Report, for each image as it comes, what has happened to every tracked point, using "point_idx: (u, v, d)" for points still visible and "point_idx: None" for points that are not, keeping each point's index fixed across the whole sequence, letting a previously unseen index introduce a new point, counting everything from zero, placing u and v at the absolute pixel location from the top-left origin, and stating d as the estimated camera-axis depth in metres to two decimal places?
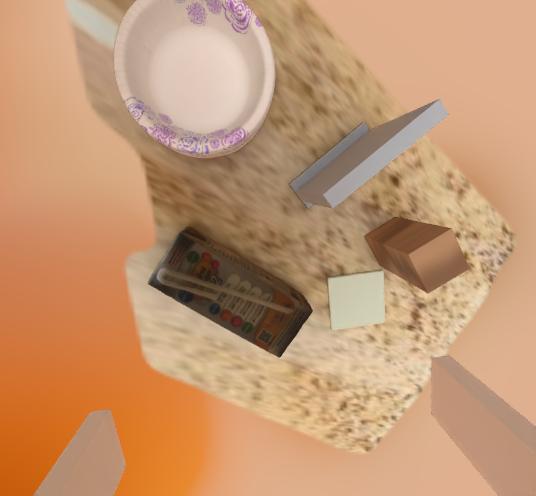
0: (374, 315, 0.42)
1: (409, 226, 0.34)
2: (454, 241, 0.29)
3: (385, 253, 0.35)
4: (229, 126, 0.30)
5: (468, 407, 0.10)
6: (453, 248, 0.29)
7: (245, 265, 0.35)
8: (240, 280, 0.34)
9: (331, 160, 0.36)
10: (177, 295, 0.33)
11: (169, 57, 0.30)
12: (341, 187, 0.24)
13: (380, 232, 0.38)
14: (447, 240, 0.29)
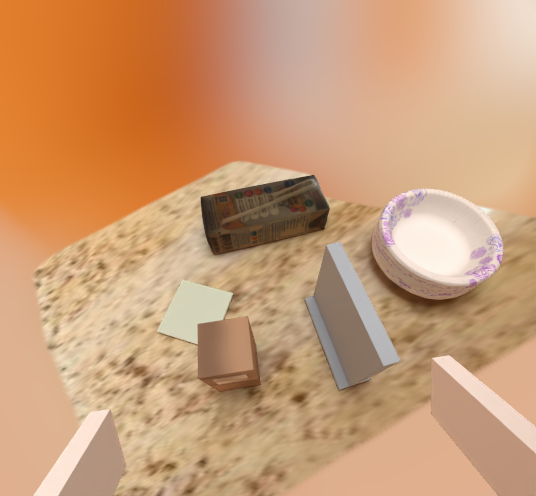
0: (171, 323, 0.39)
1: (256, 367, 0.31)
2: (237, 368, 0.26)
3: None
4: None
5: (468, 407, 0.10)
6: (230, 365, 0.26)
7: (275, 227, 0.42)
8: (270, 213, 0.42)
9: None
10: (294, 181, 0.45)
11: (448, 233, 0.41)
12: (341, 255, 0.28)
13: None
14: (242, 361, 0.26)
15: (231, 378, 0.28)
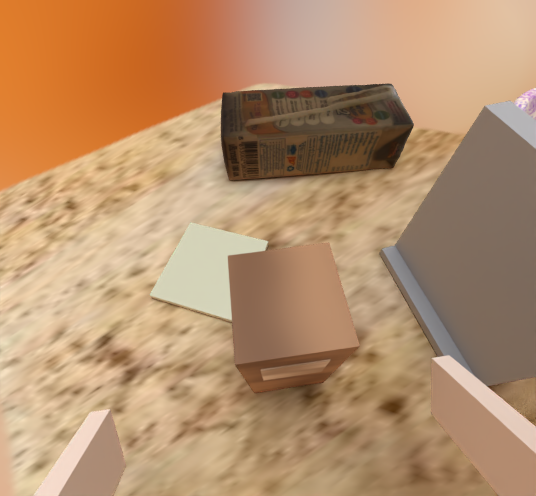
0: (172, 283, 0.25)
1: None
2: (323, 344, 0.11)
3: None
4: None
5: (468, 407, 0.10)
6: (306, 337, 0.12)
7: (325, 144, 0.28)
8: (321, 121, 0.28)
9: None
10: (361, 87, 0.31)
11: None
12: (523, 120, 0.14)
13: None
14: (331, 327, 0.12)
15: (297, 367, 0.13)
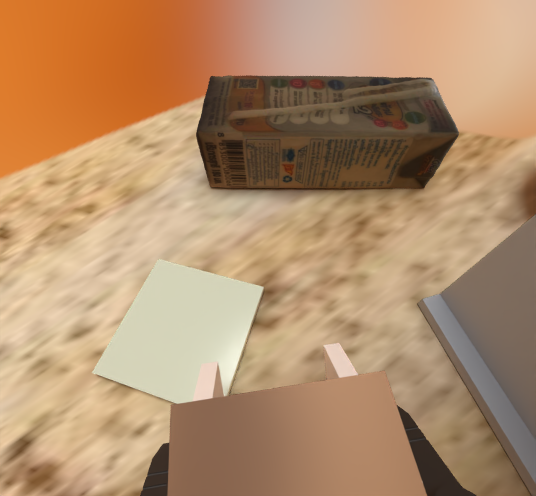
0: (126, 353, 0.17)
1: None
2: None
3: None
4: None
5: None
6: None
7: (334, 151, 0.21)
8: (331, 121, 0.21)
9: None
10: (390, 80, 0.23)
11: None
12: None
13: None
14: None
15: None
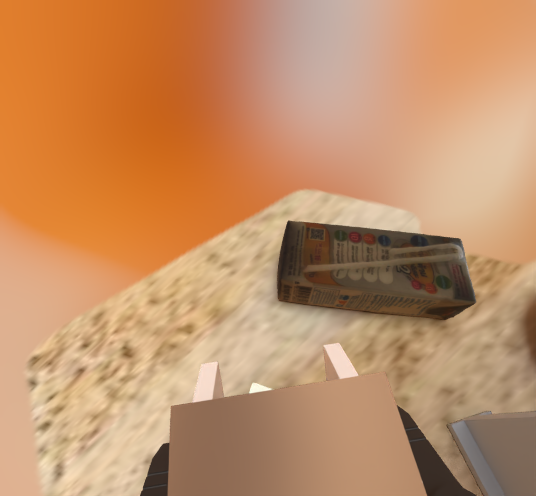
0: None
1: None
2: None
3: None
4: None
5: None
6: None
7: (379, 299, 0.28)
8: (379, 279, 0.28)
9: None
10: (427, 239, 0.30)
11: None
12: None
13: None
14: None
15: None
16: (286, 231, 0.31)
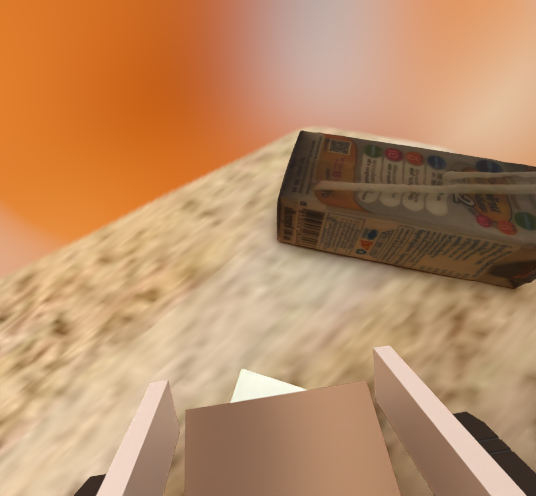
0: None
1: None
2: None
3: None
4: None
5: (396, 390, 0.11)
6: None
7: (422, 240, 0.19)
8: (426, 208, 0.19)
9: None
10: (500, 165, 0.21)
11: None
12: None
13: None
14: None
15: None
16: (297, 142, 0.23)
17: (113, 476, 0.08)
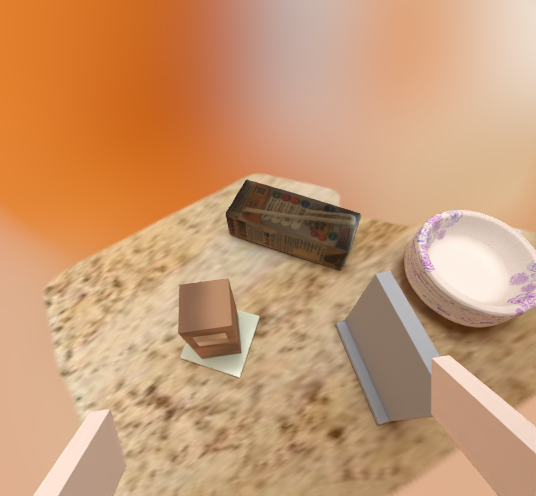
0: None
1: (236, 331, 0.32)
2: (216, 324, 0.27)
3: None
4: None
5: (468, 407, 0.10)
6: (210, 322, 0.27)
7: (288, 240, 0.41)
8: (290, 225, 0.41)
9: None
10: (336, 208, 0.42)
11: (483, 256, 0.40)
12: (393, 286, 0.26)
13: (237, 321, 0.36)
14: (221, 317, 0.27)
15: (211, 337, 0.29)
16: (242, 186, 0.45)
17: None
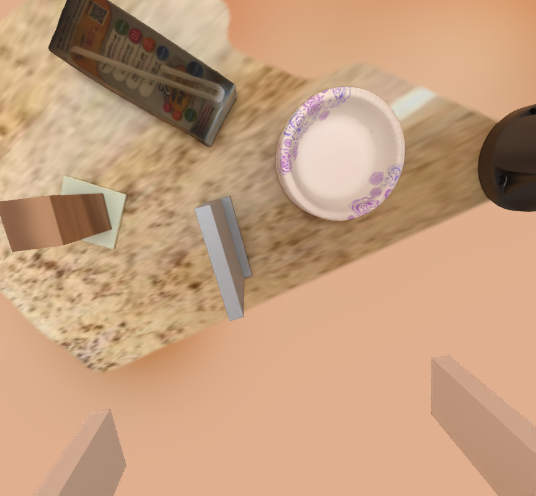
0: None
1: (89, 226, 0.34)
2: (48, 244, 0.29)
3: None
4: (295, 164, 0.35)
5: (468, 407, 0.10)
6: (40, 241, 0.29)
7: (139, 106, 0.34)
8: (138, 88, 0.32)
9: (233, 239, 0.41)
10: (203, 70, 0.32)
11: (361, 144, 0.37)
12: (209, 222, 0.27)
13: (98, 205, 0.37)
14: (51, 238, 0.29)
15: None
16: None
17: None
